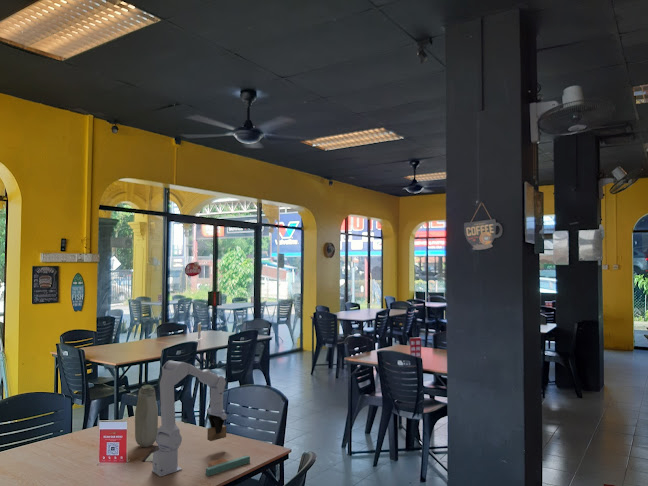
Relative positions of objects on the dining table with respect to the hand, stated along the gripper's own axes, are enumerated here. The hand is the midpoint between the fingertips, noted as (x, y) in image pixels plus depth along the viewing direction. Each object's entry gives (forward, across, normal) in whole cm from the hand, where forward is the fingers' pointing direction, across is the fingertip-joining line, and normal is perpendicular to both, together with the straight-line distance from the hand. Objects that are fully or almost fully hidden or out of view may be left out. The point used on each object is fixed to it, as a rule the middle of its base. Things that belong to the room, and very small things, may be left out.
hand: (216, 432), depth 226 cm
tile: (+9, -17, +8) cm, 21 cm away
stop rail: (+8, -22, +7) cm, 24 cm away
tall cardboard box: (+3, 0, 0) cm, 3 cm away
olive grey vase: (+8, +28, +21) cm, 36 cm away
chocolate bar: (+9, +14, +21) cm, 27 cm away
